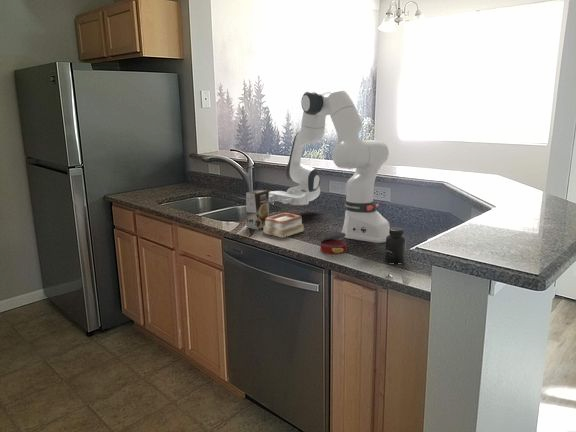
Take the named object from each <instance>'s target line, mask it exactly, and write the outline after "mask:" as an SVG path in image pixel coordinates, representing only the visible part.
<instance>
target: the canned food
mask: <svg viewBox="0 0 576 432" xmlns="http://www.w3.org/2000/svg"><path fill="white" fill-rule="evenodd" d="M345 235H346V234H344V233H342V231H333V232H329V233H328V234H326V235H324V236H323V237H322V238H320V240H319V241H320V252H321V253H323V252H324V254H327V253H328V254H327V255H342V254H345V253H346V252H347V251H348V250H347V248H348V243H347V241H345V240H342V239H341V238H345V237H344V236H345ZM341 253H342V254H341Z"/></svg>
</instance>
